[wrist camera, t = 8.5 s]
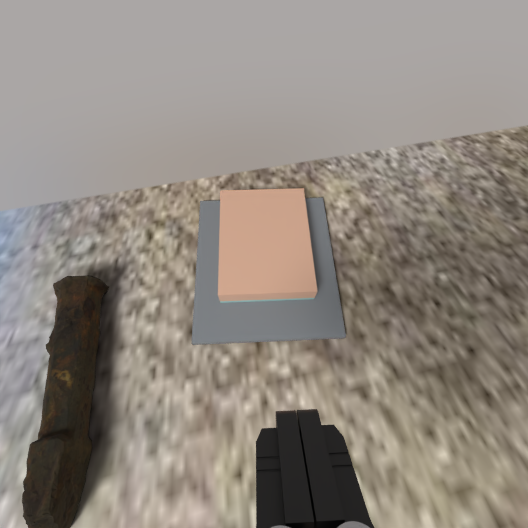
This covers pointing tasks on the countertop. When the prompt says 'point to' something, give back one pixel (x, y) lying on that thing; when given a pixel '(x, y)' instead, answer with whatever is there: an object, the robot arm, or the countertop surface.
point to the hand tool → (65, 407)
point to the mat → (265, 312)
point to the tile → (265, 246)
